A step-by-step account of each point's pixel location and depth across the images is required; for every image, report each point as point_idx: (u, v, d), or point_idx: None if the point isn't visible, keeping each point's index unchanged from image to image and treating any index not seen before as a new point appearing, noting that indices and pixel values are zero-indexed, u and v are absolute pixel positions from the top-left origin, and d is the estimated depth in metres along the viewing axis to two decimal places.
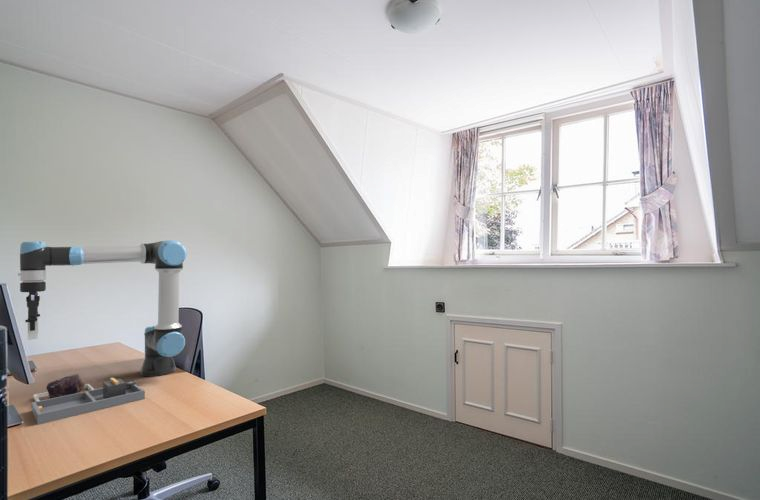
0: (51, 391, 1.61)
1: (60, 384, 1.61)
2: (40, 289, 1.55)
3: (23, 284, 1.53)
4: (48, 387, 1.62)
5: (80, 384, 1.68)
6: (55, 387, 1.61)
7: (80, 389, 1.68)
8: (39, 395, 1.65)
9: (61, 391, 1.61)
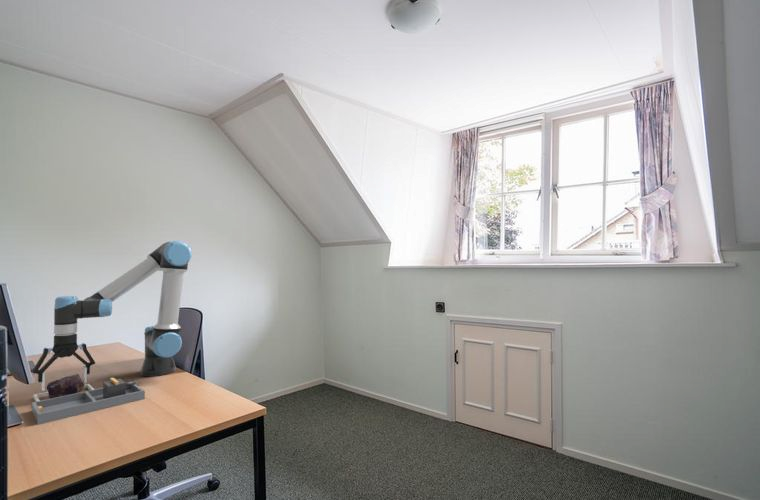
0: (51, 391, 1.61)
1: (60, 384, 1.61)
2: (57, 343, 1.62)
3: None
4: (48, 387, 1.62)
5: (80, 384, 1.68)
6: (55, 387, 1.61)
7: (80, 389, 1.68)
8: (39, 395, 1.65)
9: (61, 391, 1.61)
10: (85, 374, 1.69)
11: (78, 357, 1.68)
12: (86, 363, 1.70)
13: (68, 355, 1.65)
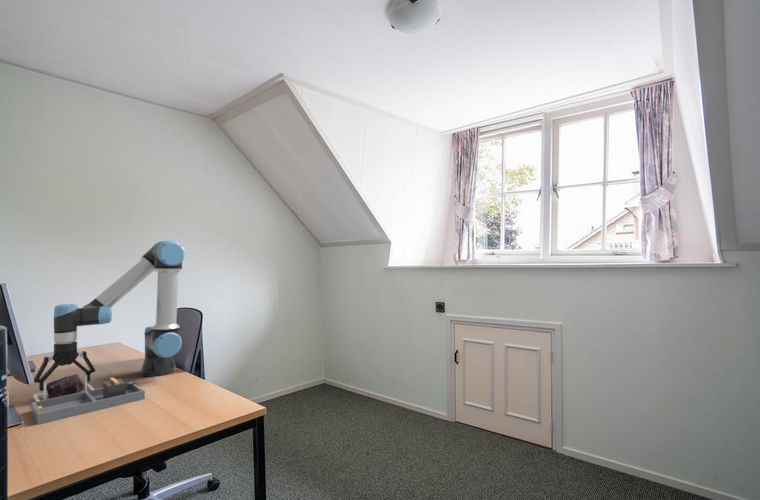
0: (51, 391, 1.61)
1: (60, 384, 1.61)
2: (57, 351, 1.62)
3: None
4: (47, 387, 1.61)
5: (79, 384, 1.68)
6: (55, 387, 1.61)
7: (79, 389, 1.68)
8: (39, 395, 1.65)
9: (61, 391, 1.61)
10: (85, 382, 1.69)
11: (78, 365, 1.68)
12: (86, 371, 1.70)
13: (68, 363, 1.66)
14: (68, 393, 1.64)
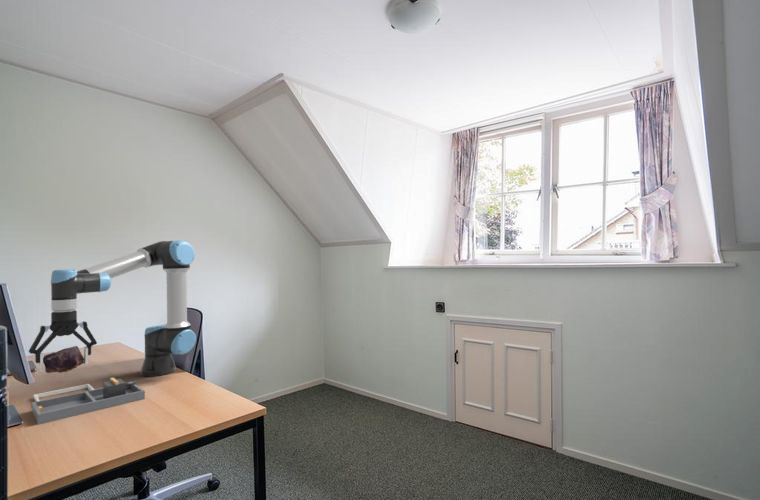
0: (48, 364, 1.47)
1: (58, 356, 1.47)
2: (54, 320, 1.48)
3: None
4: (44, 359, 1.47)
5: (80, 357, 1.54)
6: (53, 359, 1.46)
7: (80, 362, 1.54)
8: (39, 395, 1.65)
9: (59, 363, 1.47)
10: (86, 355, 1.55)
11: (78, 336, 1.53)
12: (87, 343, 1.55)
13: (67, 333, 1.51)
14: (67, 366, 1.49)
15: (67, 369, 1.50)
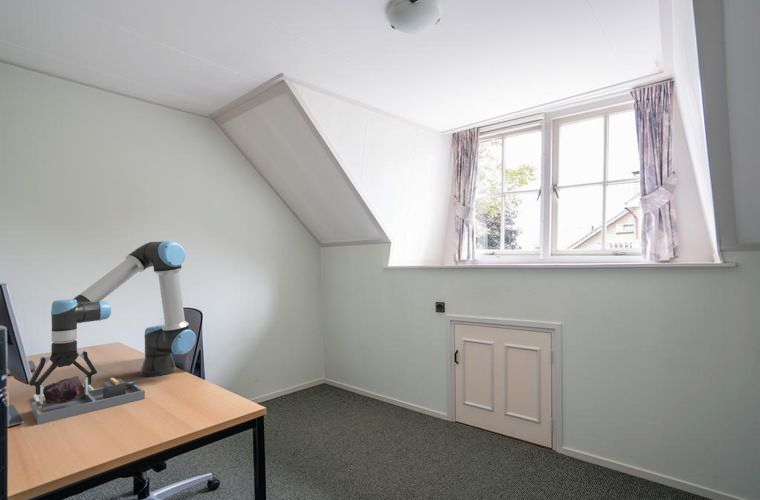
0: (48, 395, 1.46)
1: (58, 387, 1.47)
2: (55, 351, 1.47)
3: None
4: (45, 391, 1.47)
5: (80, 387, 1.54)
6: (53, 391, 1.46)
7: (80, 393, 1.54)
8: None
9: (59, 395, 1.46)
10: (86, 385, 1.55)
11: (78, 366, 1.53)
12: (87, 373, 1.55)
13: (68, 364, 1.51)
14: (67, 397, 1.49)
15: (67, 400, 1.50)
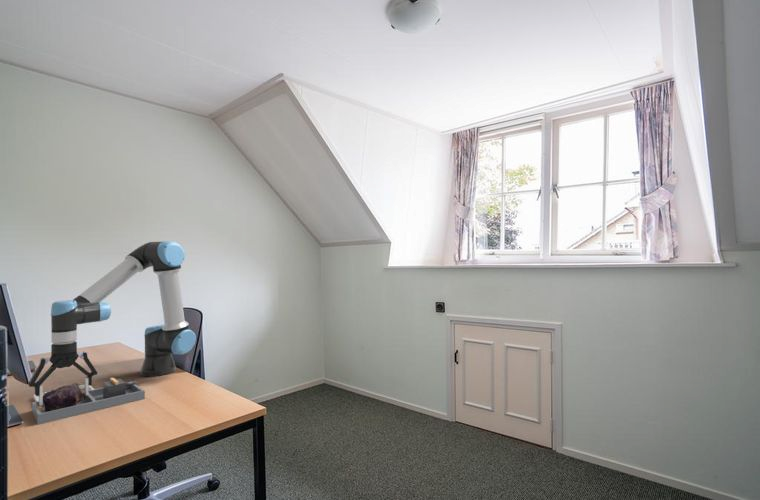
0: (48, 402, 1.46)
1: (58, 394, 1.47)
2: (55, 352, 1.47)
3: None
4: (44, 398, 1.47)
5: (79, 394, 1.53)
6: (52, 398, 1.46)
7: (79, 399, 1.53)
8: None
9: (59, 402, 1.46)
10: (87, 385, 1.55)
11: (78, 367, 1.53)
12: (87, 373, 1.55)
13: (67, 365, 1.51)
14: (67, 404, 1.49)
15: None
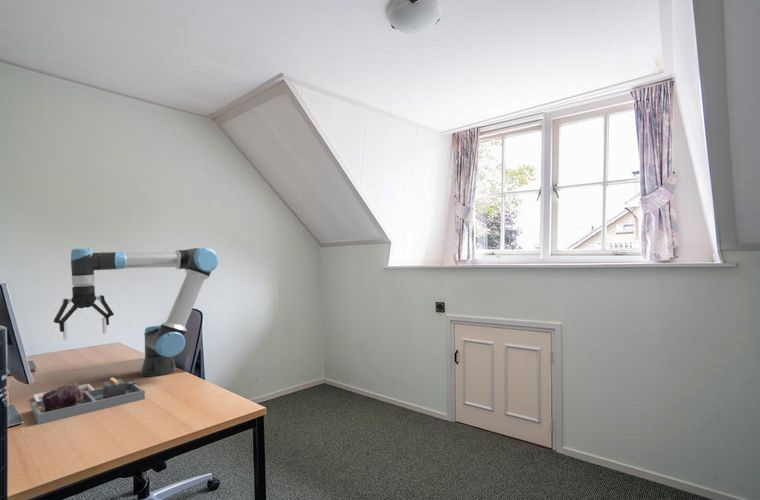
0: (47, 402, 1.46)
1: (58, 394, 1.47)
2: (76, 293, 1.64)
3: None
4: (44, 398, 1.47)
5: (79, 394, 1.53)
6: (52, 398, 1.46)
7: (79, 399, 1.54)
8: (39, 395, 1.65)
9: (59, 402, 1.46)
10: (105, 325, 1.72)
11: (97, 308, 1.70)
12: (105, 314, 1.73)
13: (87, 306, 1.68)
14: (67, 404, 1.49)
15: None
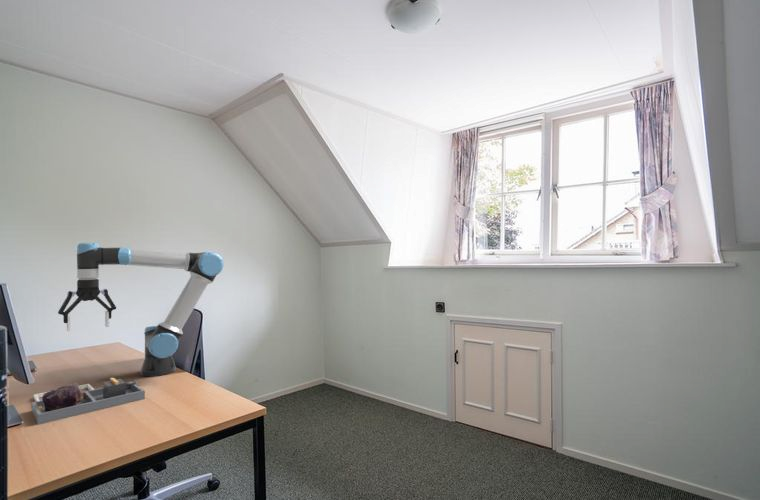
0: (47, 402, 1.46)
1: (58, 394, 1.47)
2: (80, 286, 1.69)
3: None
4: (44, 398, 1.47)
5: (79, 394, 1.53)
6: (52, 398, 1.46)
7: (79, 399, 1.54)
8: (39, 395, 1.65)
9: (59, 402, 1.46)
10: (107, 318, 1.77)
11: (100, 301, 1.75)
12: (108, 308, 1.77)
13: (91, 299, 1.73)
14: (67, 404, 1.49)
15: None
